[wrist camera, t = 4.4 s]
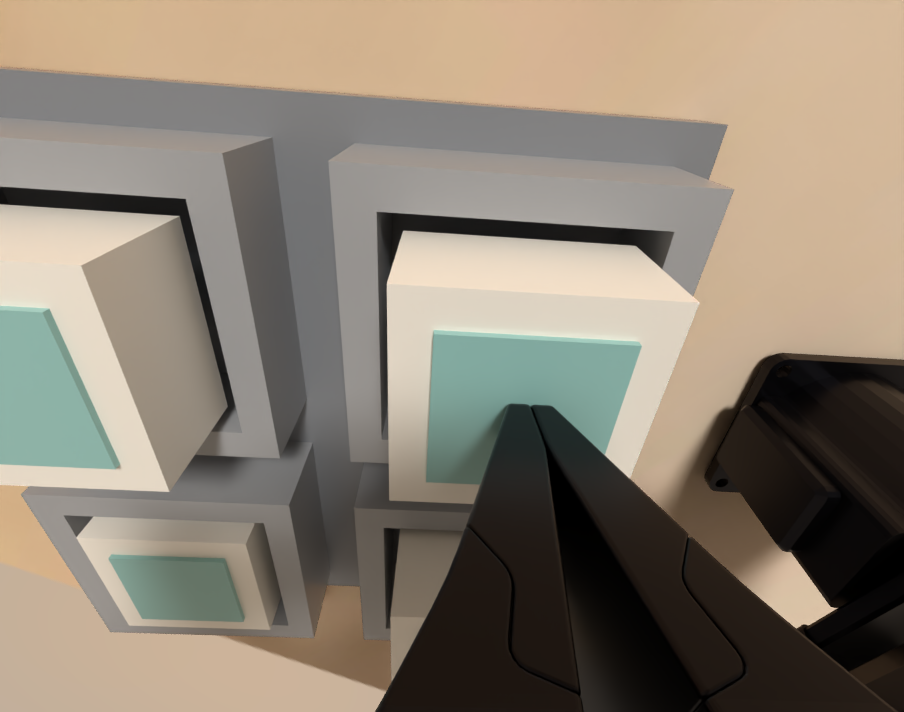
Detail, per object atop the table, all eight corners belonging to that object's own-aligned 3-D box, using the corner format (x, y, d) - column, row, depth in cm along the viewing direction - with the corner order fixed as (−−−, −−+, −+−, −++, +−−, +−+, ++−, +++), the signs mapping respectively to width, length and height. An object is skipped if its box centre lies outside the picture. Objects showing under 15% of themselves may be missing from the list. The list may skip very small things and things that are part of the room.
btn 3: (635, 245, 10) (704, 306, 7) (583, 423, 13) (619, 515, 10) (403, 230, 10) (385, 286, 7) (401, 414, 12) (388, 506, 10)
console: (703, 121, 12) (807, 138, 8) (557, 569, 22) (577, 657, 19) (-87, 60, 11) (-329, 51, 8) (149, 554, 21) (93, 644, 18)
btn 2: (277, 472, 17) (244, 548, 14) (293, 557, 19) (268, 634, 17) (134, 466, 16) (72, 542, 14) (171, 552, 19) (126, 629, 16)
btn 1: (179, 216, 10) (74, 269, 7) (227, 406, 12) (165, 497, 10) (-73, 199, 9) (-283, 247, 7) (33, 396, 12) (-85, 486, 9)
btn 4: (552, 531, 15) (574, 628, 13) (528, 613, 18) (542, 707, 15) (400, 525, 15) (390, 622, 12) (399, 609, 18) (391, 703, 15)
